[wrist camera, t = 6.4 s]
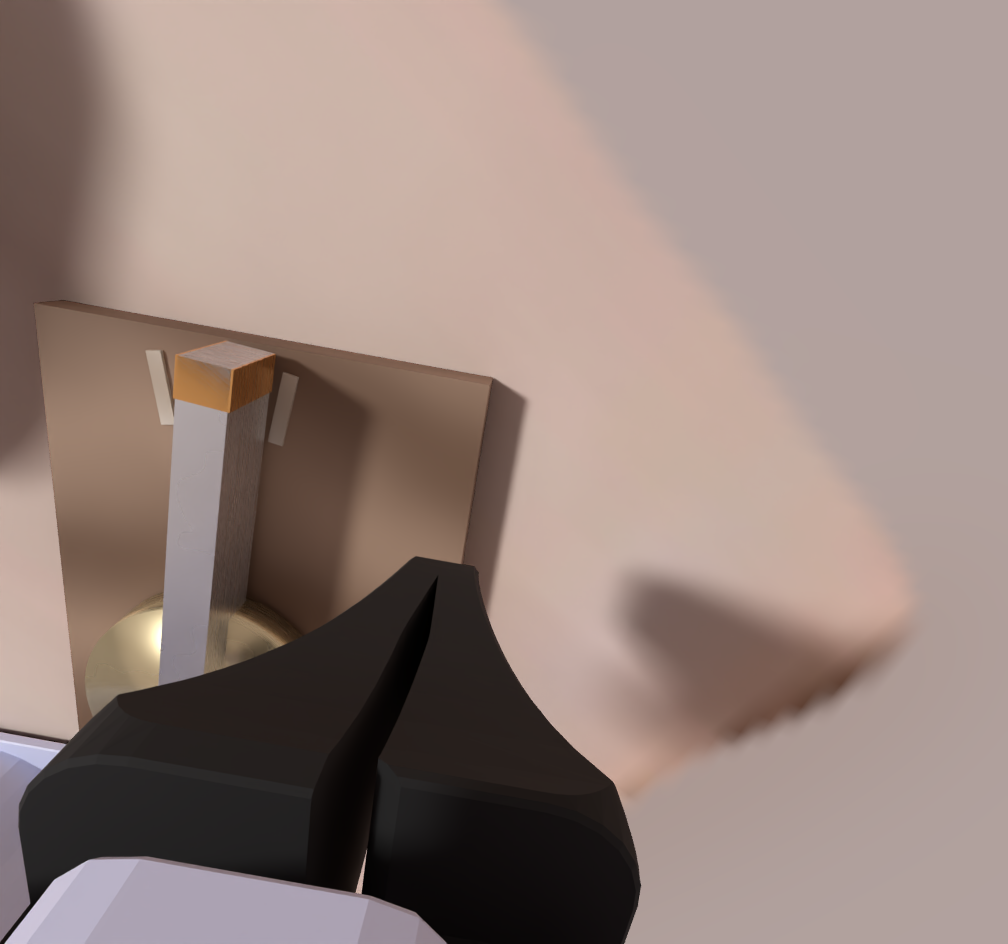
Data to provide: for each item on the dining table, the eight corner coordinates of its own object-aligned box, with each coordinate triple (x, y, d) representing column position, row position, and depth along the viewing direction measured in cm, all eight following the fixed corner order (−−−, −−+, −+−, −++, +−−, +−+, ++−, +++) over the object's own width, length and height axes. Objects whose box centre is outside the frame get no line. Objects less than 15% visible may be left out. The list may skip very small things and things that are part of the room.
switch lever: (311, 787, 20) (283, 853, 18) (109, 738, 20) (55, 798, 18) (387, 381, 15) (361, 403, 13) (119, 310, 15) (46, 320, 13)
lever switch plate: (423, 803, 22) (417, 830, 21) (102, 744, 22) (81, 769, 21) (493, 377, 16) (489, 386, 15) (62, 300, 16) (30, 303, 15)
